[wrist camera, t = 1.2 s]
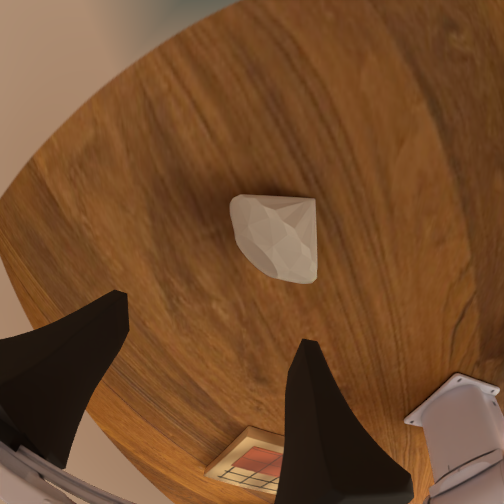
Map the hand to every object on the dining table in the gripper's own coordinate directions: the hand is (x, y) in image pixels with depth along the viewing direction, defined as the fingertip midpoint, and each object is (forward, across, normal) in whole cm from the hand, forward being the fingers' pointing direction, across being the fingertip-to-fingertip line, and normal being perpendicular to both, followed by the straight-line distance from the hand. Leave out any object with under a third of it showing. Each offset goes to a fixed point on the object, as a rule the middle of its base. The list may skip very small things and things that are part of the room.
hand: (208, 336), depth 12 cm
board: (+8, -10, +29) cm, 32 cm away
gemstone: (+9, -2, -2) cm, 9 cm away
